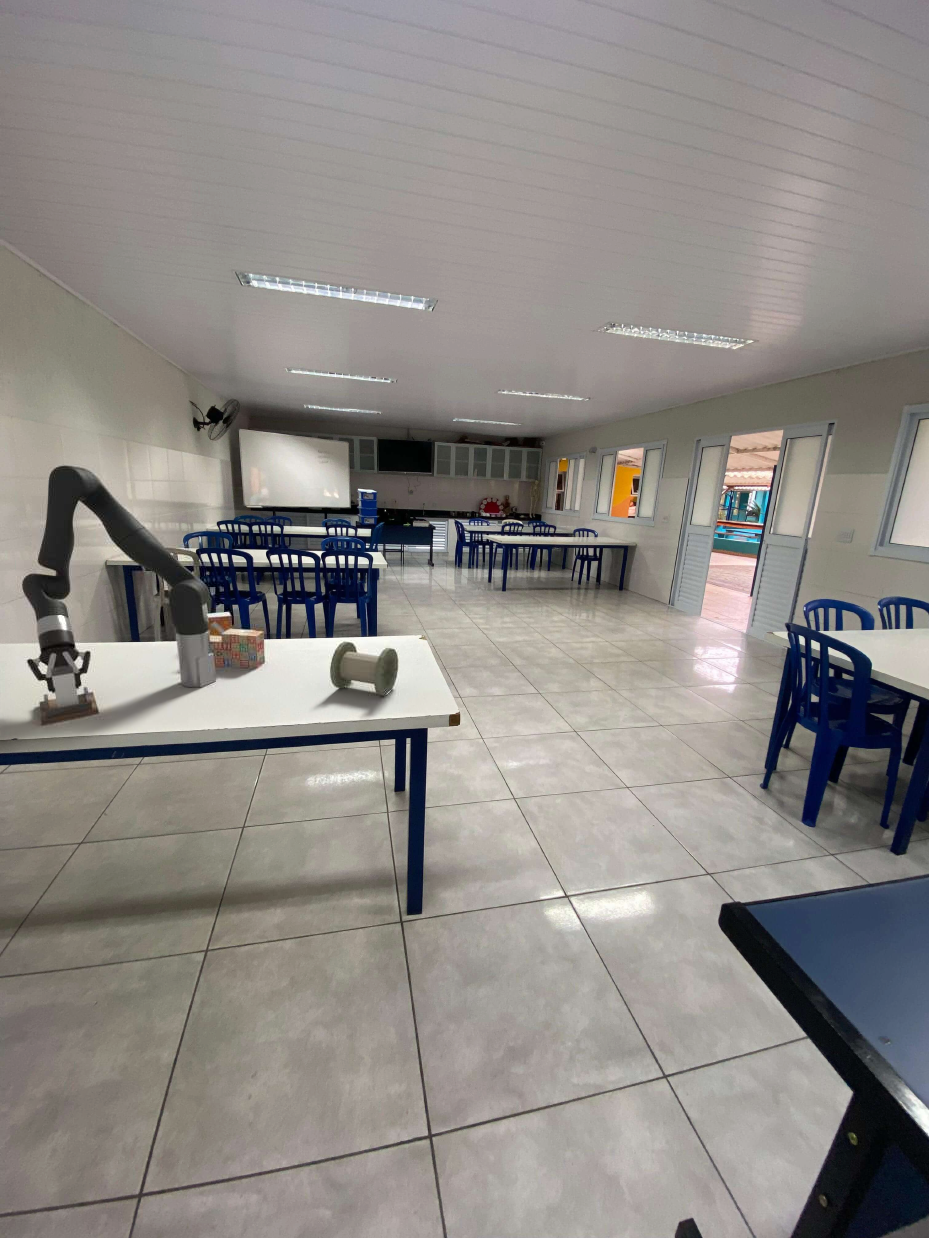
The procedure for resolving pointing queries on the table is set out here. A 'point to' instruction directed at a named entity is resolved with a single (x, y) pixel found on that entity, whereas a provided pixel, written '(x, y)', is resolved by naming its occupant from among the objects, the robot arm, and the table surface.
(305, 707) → the table surface
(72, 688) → the connector plug
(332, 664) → the spool
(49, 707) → the holder board
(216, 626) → the small box
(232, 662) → the stack of blocks
